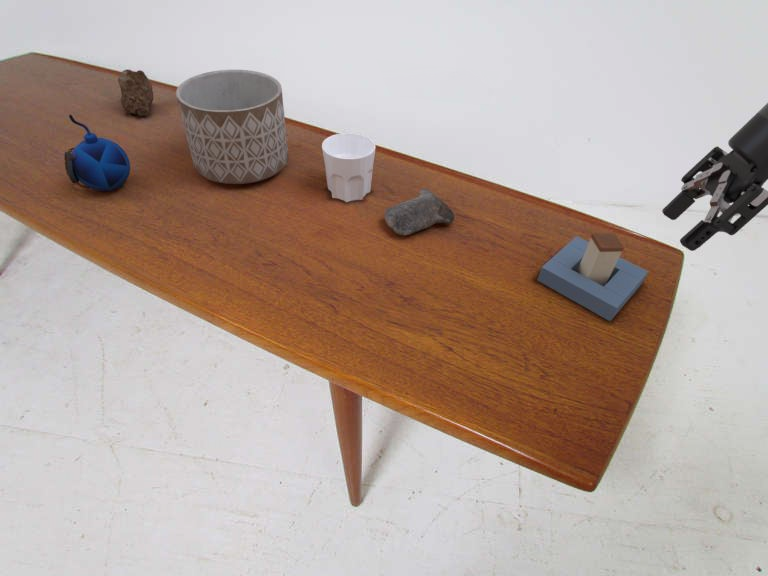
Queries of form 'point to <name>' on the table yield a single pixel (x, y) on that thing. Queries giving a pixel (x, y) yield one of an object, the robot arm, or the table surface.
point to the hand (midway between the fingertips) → (675, 230)
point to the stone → (418, 213)
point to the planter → (234, 125)
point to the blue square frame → (585, 291)
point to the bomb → (97, 162)
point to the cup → (348, 165)
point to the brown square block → (600, 257)
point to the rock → (135, 92)
